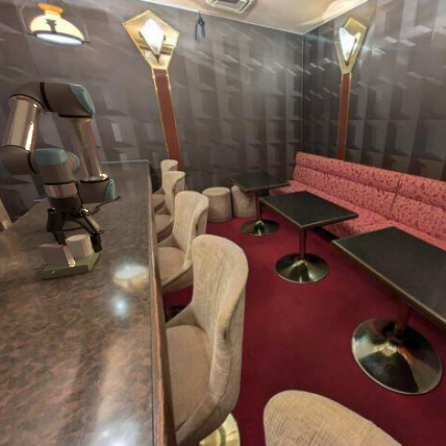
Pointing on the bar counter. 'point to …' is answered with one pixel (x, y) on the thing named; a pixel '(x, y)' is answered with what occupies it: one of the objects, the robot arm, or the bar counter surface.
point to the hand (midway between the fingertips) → (81, 250)
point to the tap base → (71, 267)
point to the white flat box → (56, 254)
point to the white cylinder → (79, 245)
